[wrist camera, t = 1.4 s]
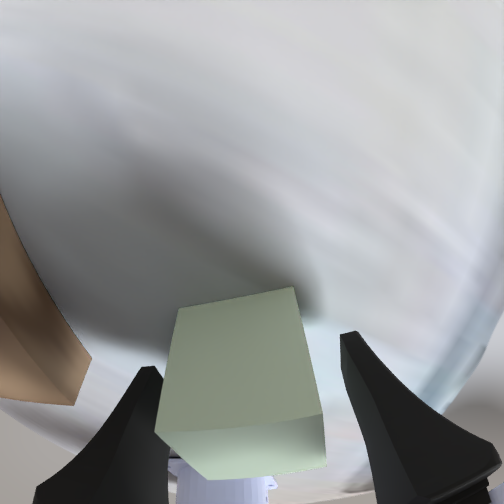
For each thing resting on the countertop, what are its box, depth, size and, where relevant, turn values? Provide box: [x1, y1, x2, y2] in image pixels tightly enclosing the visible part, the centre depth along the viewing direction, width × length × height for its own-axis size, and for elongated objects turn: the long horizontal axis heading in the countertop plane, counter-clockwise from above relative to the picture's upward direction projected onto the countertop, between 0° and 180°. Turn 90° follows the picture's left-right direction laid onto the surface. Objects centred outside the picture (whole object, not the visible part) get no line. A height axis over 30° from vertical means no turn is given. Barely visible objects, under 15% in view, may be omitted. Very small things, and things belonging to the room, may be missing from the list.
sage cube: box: [154, 286, 327, 480], centre depth 10 cm, size 4×4×6 cm
